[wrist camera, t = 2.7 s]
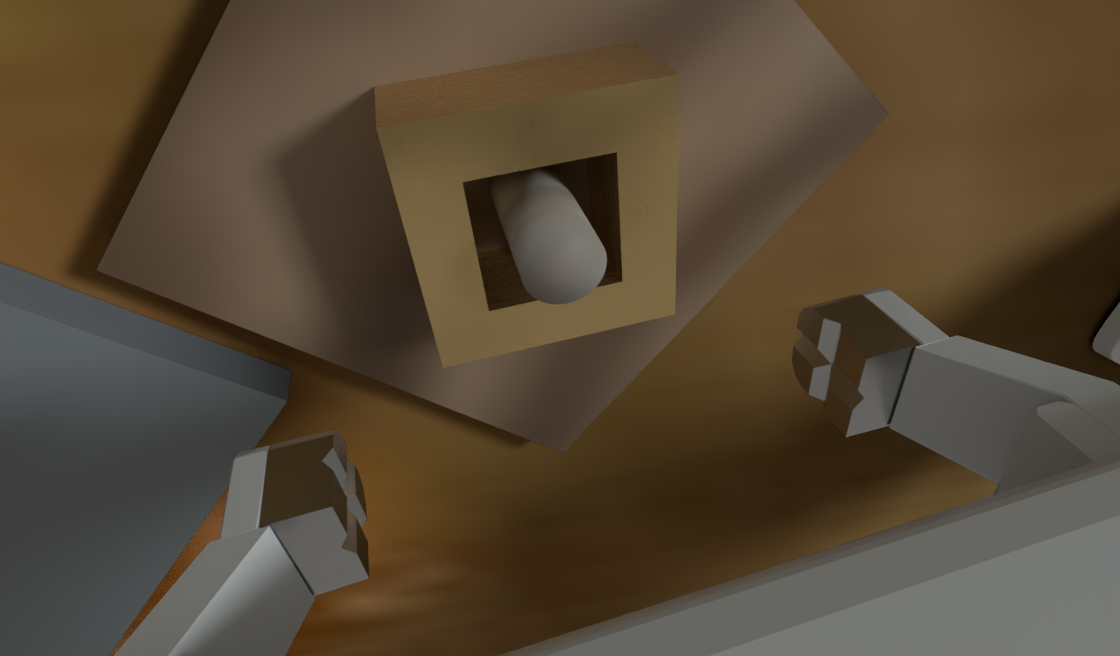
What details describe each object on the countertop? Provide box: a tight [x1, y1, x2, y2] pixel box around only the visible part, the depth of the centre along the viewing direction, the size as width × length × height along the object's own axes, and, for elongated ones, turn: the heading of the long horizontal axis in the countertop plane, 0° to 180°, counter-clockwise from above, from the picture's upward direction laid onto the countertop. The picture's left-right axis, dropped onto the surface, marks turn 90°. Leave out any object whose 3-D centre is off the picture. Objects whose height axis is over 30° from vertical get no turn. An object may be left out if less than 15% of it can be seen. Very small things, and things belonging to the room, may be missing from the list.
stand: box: [96, 0, 889, 453], centre depth 17 cm, size 16×16×6 cm
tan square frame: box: [374, 42, 680, 368], centre depth 17 cm, size 7×7×3 cm
